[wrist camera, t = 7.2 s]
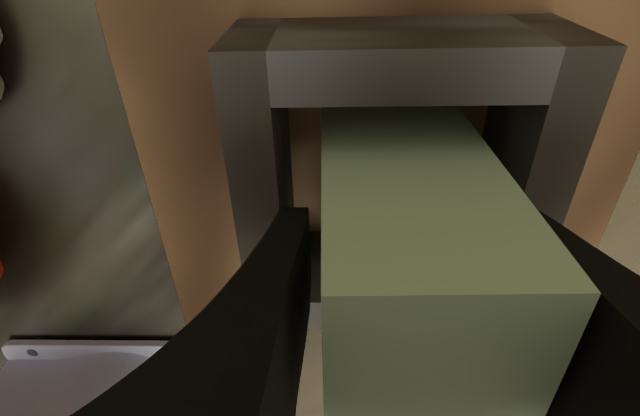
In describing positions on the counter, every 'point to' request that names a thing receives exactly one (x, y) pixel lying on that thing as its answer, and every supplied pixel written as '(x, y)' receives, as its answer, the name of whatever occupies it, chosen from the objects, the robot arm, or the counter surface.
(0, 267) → the apple
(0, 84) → the bottle
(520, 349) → the green rectangular block
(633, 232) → the counter surface
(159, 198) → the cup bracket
